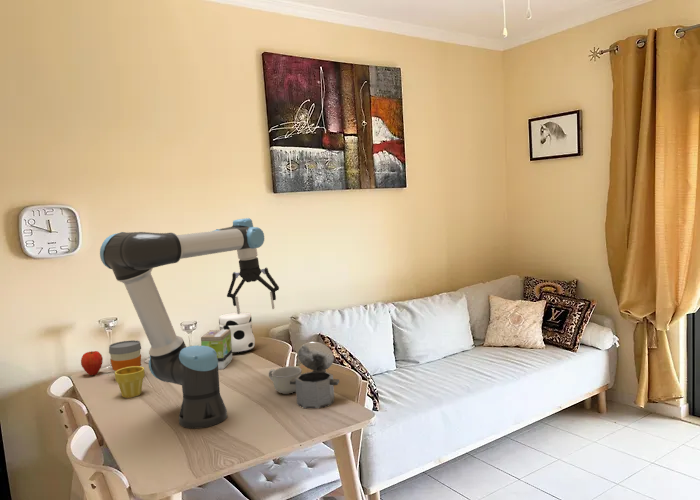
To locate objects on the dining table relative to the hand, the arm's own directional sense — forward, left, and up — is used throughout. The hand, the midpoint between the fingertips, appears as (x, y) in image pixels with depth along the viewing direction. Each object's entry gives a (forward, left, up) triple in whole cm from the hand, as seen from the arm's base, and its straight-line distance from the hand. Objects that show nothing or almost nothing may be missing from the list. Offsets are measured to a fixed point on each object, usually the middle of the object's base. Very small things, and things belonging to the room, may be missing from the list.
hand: (256, 310), depth 213 cm
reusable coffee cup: (-1, +60, -28) cm, 66 cm away
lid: (-20, -29, -13) cm, 38 cm away
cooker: (-23, -29, -28) cm, 46 cm away
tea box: (+20, +29, -28) cm, 45 cm away
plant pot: (-20, +45, -28) cm, 56 cm away
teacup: (-12, -14, -28) cm, 34 cm away
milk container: (+43, +30, -28) cm, 60 cm away
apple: (+3, +80, -28) cm, 85 cm away
